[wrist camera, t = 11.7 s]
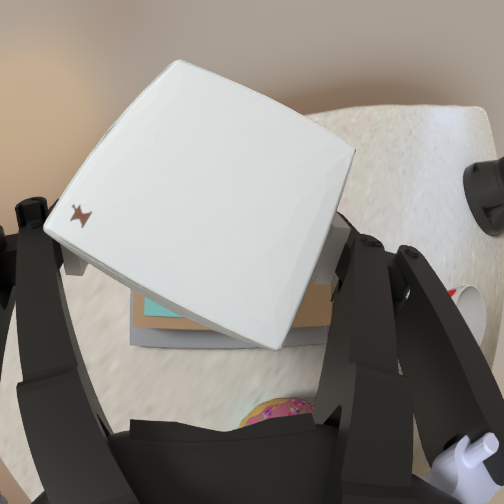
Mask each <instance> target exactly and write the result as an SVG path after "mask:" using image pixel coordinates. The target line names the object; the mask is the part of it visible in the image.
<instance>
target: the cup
mask: <svg viewBox="0 0 504 504" xmlns="http://www.w3.org/2000/svg"><path fill="white" fill-rule="evenodd" d="M447 292H448V293H449V295H450V296H451V298H452V300H453V301H454V303H455V304H456V306H457V308H458V309H459V311H460V313H461V315H462V316H463V318H464V320H465V322H466V323H467V325H468V327H469V329H470V330H471V332H472V334H473V336H474V338H475V340H476V342H477V343H478V345H479V347H480V345H481V343H482V341H483V338H484V335H485V331H486V325H487V309H486V304H485V300H484V297H483V295H482V293H481V291H480V290H479V289H478V288H477V287H476V286H475V285H472V284H469V285H465V286H461V287H457V288H453V289H449V290H447Z"/></svg>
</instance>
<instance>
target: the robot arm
mask: <svg viewBox="0 0 504 504" xmlns="http://www.w3.org/2000/svg"><path fill="white" fill-rule="evenodd" d="M463 182H464V189H465V194H466V198H467V201H468V204H469V206H470V209H471V211H472V214H473V216H474V218H475V219H476V221H477V223H478V224H479V226H480V227H481V228H482V230H483V231H484V232H486V233H487V234H489V235H495V234H498V233H501V232H502V231H504V157H502V158H500V159H498V160H493V161H484V162H476V163H473V164H471V165H470V166H468V167H467V168H466V169H465V171H464V176H463ZM59 199H60V198H59ZM59 199H57V200H56V202H55V203H54V204H53V205H52V206H51V207H50V208H49V209H48V207H47V200H46V199H45V198H43V197H32V198H29V199H25V200H23V201H21V202H20V203H18V204H17V205H16V207H15V211H16V215H17V221H18V226H19V233H17V234H12V235H7V236H5V234H4V230H3V227H2V226H0V380H1V372H2V364H3V357H4V351H5V345H6V340H7V335H8V330H9V325H10V321H11V316H12V312H13V308H14V304H15V300H16V320H17V334H18V345H19V354H20V362H21V369H22V375H23V382H19V383H17V387H16V389H17V398H18V403H19V408H20V413H21V417H22V422H23V426H24V430H25V434H26V437H27V441H28V444H29V448H30V451H31V454H32V457H33V460H34V463H35V466H36V469H37V472H38V475H39V477H40V480H41V483H42V485H43V488H44V490H45V491H43V492H42V493H41V494H40V495H39V496H38V497H37V498H36V499H35V500H34V501H33V502H32V503H31V504H486V503H487V502H488V501H489V500H490V499H491V497H492V496H493V495H494V494H495V493H496V492H497V491H498V490H499V489H500V488H502V487H504V399H503V397H502V395H501V392H500V390H499V387H498V385H497V383H496V381H495V378H494V376H493V374H492V372H491V370H490V368H489V365H488V363H487V361H486V359H485V357H484V355H483V353H482V351H481V349H480V347H479V345H478V343H477V342H476V340H475V338H474V336H473V334H472V332H471V330H470V329H469V327H468V325H467V323H466V322H465V320H464V318H463V316H462V315H461V313H460V311H459V309H458V308H457V306H456V304H455V303H454V301H453V300H452V298H451V296H450V295H449V293H448V292H447V290H446V288H445V287H444V285H443V284H442V282H441V281H440V279H439V278H438V276H437V275H436V273H435V272H434V270H433V269H432V267H431V266H430V264H429V263H428V261H427V260H426V259H425V257H424V256H423V255H422V254H421V253H420V252H419V251H418V250H417V249H416V248H414V247H412V246H407V245H401V246H400V247H399V249H398V251H397V253H396V254H394V253H390V252H387V251H385V250H384V246H383V244H382V243H381V242H380V241H379V240H377V239H376V238H374V237H372V236H370V235H366V234H360V233H359V232H358V231H357V230H356V229H355V227H354V226H352V224H351V223H350V222H348V220H347V219H346V218H345V217H344V216H343V215H342V214H340V213H339V212H337V211H336V213H335V216H334V219H333V222H332V225H331V228H330V230H329V233H328V236H327V239H326V241H325V244H324V247H323V250H322V252H321V255H320V258H319V260H318V263H317V265H316V268H315V271H314V273H313V276H312V280H313V282H314V283H315V284H331V282H332V280H333V277H334V275H335V273H336V275H337V276H338V278H339V280H338V283H337V285H336V288H335V290H334V293H333V295H332V298H331V300H330V301H332V302H333V300H334V303H333V310H332V316H331V322H330V328H329V334H328V340H327V346H326V351H325V356H324V362H323V367H322V372H321V377H320V381H319V386H318V391H317V395H316V400H315V404H314V408H313V412H312V413H304V414H298V415H290V416H283V417H274V418H269V419H266V420H263V421H260V422H257V423H254V424H251V425H248V426H245V427H242V428H239V429H235V430H232V431H228V432H221V431H215V430H210V429H205V428H200V427H196V426H191V425H187V424H183V423H178V422H166V421H147V420H134V419H130V430H129V431H123V432H119V433H115V434H114V433H113V431H112V429H111V427H110V425H109V423H108V421H107V419H106V417H105V415H104V412H103V410H102V408H101V405H100V403H99V401H98V398H97V396H96V393H95V391H94V388H93V386H92V383H91V380H90V378H89V375H88V372H87V369H86V367H85V364H84V361H83V358H82V355H81V352H80V349H79V345H78V342H77V339H76V335H75V332H74V328H73V325H72V321H71V317H70V313H69V309H68V305H67V301H66V297H65V292H64V288H63V283H62V278H61V274H60V270H59V269H60V267H61V266H62V264H64V268H65V273H66V275H77V276H83V274H84V271H85V269H86V267H87V265H88V262H87V261H85V260H83V259H82V258H80V257H79V256H77V255H76V254H74V253H73V252H72V251H70V250H69V249H67V248H66V247H64V246H63V245H61V244H60V243H59V242H57V241H56V240H55V239H53V238H52V237H50V236H49V235H48V234H47V233H45V232H44V229H43V228H44V223H45V222H46V220H47V218H48V216H49V215H50V213H51V212H52V210H53V209H54V207H55V205H56V204H57V202H58V201H59ZM409 290H410V294H409V297H408V299H407V298H406V295H407V294H408V292H409ZM398 359H399V363H400V366H401V369H402V372H403V375H400V374H399V373H398ZM413 412H414V416H415V420H416V424H417V429H418V433H419V437H420V440H421V444H422V448H423V451H424V453H425V456H426V459H427V461H428V463H429V465H430V467H431V471H429V472H428V473H427V474H426V475H425V477H424V480H422V479H421V478H419V477H417V476H416V475H414V474H412V461H413ZM0 504H8V501H7V500H6V498H5V497H4V496H3V495H2V494H1V492H0Z"/></svg>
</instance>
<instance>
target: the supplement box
mask: <svg viewBox="0 0 504 504" xmlns="http://www.w3.org/2000/svg"><path fill="white" fill-rule="evenodd" d="M355 152H356V149H355V147H354V146H352V145H351V144H349V143H348V142H346V141H344V140H343V139H341V138H340V137H338V136H337V135H335V134H333V133H332V132H330V131H329V130H327V129H325V128H324V127H322V126H320V125H319V124H317V123H315V122H313V121H312V120H310V119H308V118H306V117H304V116H303V115H301V114H299V113H297V112H295V111H294V110H292V109H290V108H288V107H286V106H284V105H282V104H280V103H279V102H276V101H275V100H273V99H271V98H269V97H267V96H264V95H262V94H260V93H258V92H256V91H254V90H251V89H249V88H247V87H245V86H243V85H240V84H238V83H236V82H233V81H231V80H228V79H226V78H224V77H222V76H220V75H217V74H215V73H213V72H210V71H208V70H206V69H203V68H201V67H198V66H196V65H193V64H191V63H188V62H186V61H183V60H177V61H175V62H173V63H171V64H170V65H169V66H168V67H167V68H166V69H165V70H164V71H163V72H162V73H161V74H160V75H159V76H158V77H157V78H156V79H155V80H154V81H153V82H152V83H151V84H150V85H149V86H148V87H147V88H146V89H145V90H144V91H143V92H142V93H141V94H140V95H139V96H138V97H137V99H136V100H134V102H133V103H132V104H131V105H130V106H129V107H128V108H127V109H126V111H125V112H124V113H123V114H122V115H121V116H120V117H119V118H118V120H117V121H116V122H115V123H114V124H113V125H112V126H111V127H110V128H109V130H108V131H107V132H106V133H105V134H104V136H103V137H102V139H101V140H100V142H99V143H98V144H97V146H96V147H95V148H94V150H93V151H92V152H91V153H90V155H89V156H88V158H87V159H86V160H85V162H84V163H83V165H82V166H81V167H80V169H79V170H78V172H77V173H76V175H75V176H74V178H73V179H72V181H71V182H70V184H69V185H68V187H67V188H66V190H65V191H64V193H63V194H62V196H61V198H60V199H59V201H58V202H57V204H56V205H55V207H54V209H53V210H52V212H51V213H50V215H49V216H48V218H47V220H46V222H45V223H44V228H43V229H44V232H45V233H47V234H48V235H49V236H50V237H52V238H53V239H55V240H56V241H57V242H59V243H60V244H61V245H63V246H64V247H66V248H67V249H69V250H70V251H72V252H73V253H74V254H76V255H77V256H79V257H80V258H82V259H83V260H85V261H87V262H88V263H90V264H91V265H93V266H94V267H96V268H97V269H99V270H100V271H102V272H104V273H105V274H107V275H108V276H110V277H112V278H113V279H115V280H117V281H118V282H120V283H122V284H124V285H125V286H127V287H129V288H130V289H132V290H134V291H136V292H137V293H139V294H141V295H143V296H144V297H146V298H148V299H150V300H152V301H153V302H155V303H157V304H159V305H161V306H163V307H165V308H167V309H168V310H170V311H172V312H174V313H176V314H178V315H180V316H182V317H185V318H187V319H189V320H191V321H193V322H195V323H198V324H200V325H202V326H205V327H207V328H209V329H212V330H214V331H217V332H220V333H223V334H225V335H228V336H230V337H233V338H235V339H238V340H241V341H244V342H247V343H250V344H253V345H256V346H260V347H263V348H266V349H269V350H274V351H279V350H281V348H282V346H283V344H284V342H285V340H286V338H287V335H288V333H289V331H290V329H291V326H292V324H293V322H294V320H295V317H296V315H297V312H298V310H299V308H300V305H301V303H302V301H303V298H304V296H305V293H306V291H307V288H308V286H309V283H310V281H311V278H312V276H313V273H314V271H315V268H316V265H317V263H318V260H319V258H320V255H321V252H322V250H323V247H324V244H325V241H326V239H327V236H328V233H329V230H330V228H331V225H332V222H333V219H334V216H335V213H336V211H337V208H338V205H339V202H340V199H341V196H342V192H343V189H344V186H345V183H346V180H347V177H348V174H349V170H350V167H351V164H352V160H353V157H354V154H355Z"/></svg>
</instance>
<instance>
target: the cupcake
mask: <svg viewBox="0 0 504 504" xmlns="http://www.w3.org/2000/svg"><path fill="white" fill-rule="evenodd" d="M312 412H313V407H312V406H311V405H310V404H309V403H307V402H306V401H304V400H301V399H297V398H291V399H288V398H276V399H272V400H270V401H267V402H264V403H261V404H259V405H258V406H257V407H255V408H254V409H253V410H252V411H251V412H250V413H249V414H248V416H247V417H246V418H244V419H243V420H242V421H241V423H240V426H239V428H242V427H245V426H248V425H251V424H254V423H257V422H260V421H263V420H266V419H269V418H274V417H283V416H290V415H298V414H304V413H312Z"/></svg>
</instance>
